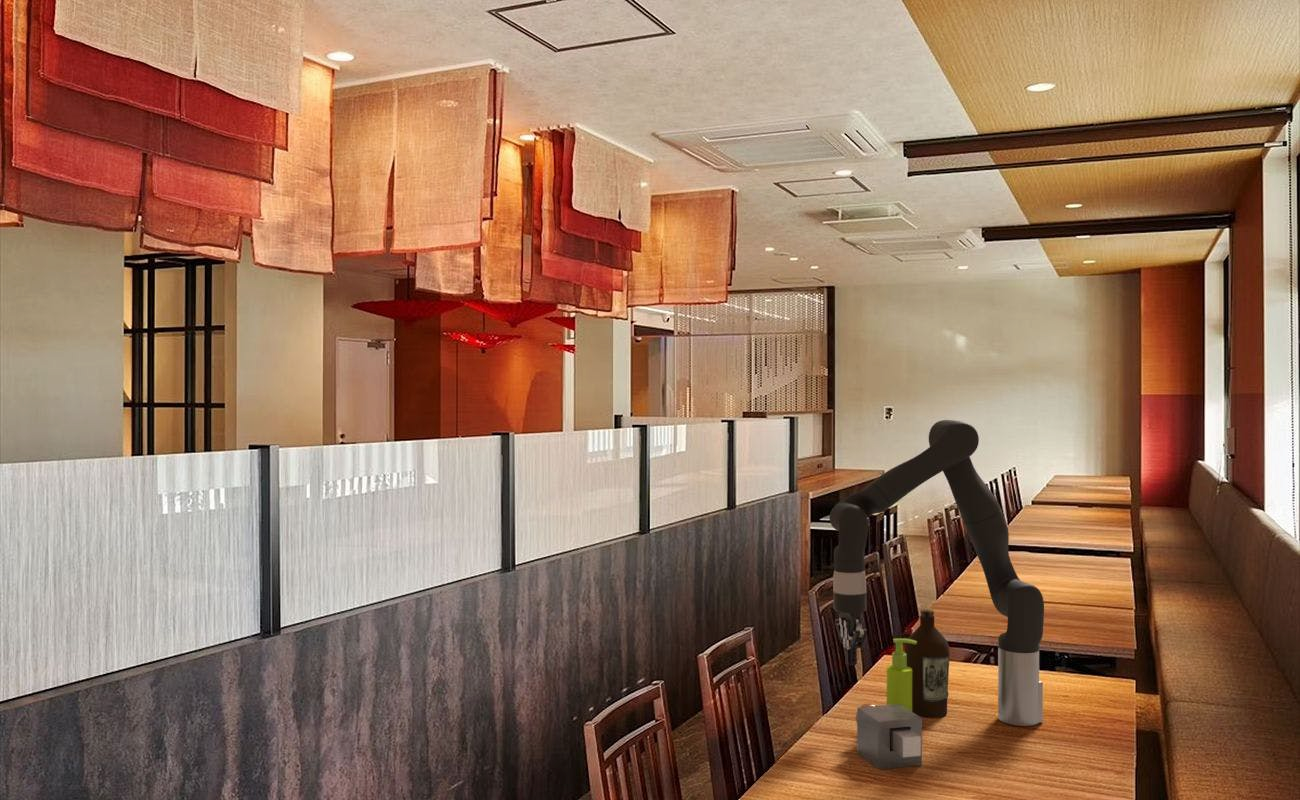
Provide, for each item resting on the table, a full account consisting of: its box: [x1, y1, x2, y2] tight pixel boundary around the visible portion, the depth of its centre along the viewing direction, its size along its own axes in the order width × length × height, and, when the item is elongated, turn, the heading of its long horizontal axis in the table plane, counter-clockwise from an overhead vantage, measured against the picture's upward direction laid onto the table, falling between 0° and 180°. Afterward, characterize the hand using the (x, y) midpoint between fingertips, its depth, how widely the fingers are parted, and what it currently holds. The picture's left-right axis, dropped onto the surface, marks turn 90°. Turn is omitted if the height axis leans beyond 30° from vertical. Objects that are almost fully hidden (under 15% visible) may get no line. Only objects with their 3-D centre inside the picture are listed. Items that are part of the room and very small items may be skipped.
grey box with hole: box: [856, 704, 923, 771], centre depth 222 cm, size 10×10×10 cm
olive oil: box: [904, 609, 951, 719], centre depth 255 cm, size 11×11×25 cm
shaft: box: [855, 703, 921, 757], centre depth 222 cm, size 6×20×6 cm, turn 14°
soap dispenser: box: [886, 637, 917, 712], centre depth 246 cm, size 6×7×20 cm
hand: (851, 664), depth 241 cm, fingers closed
